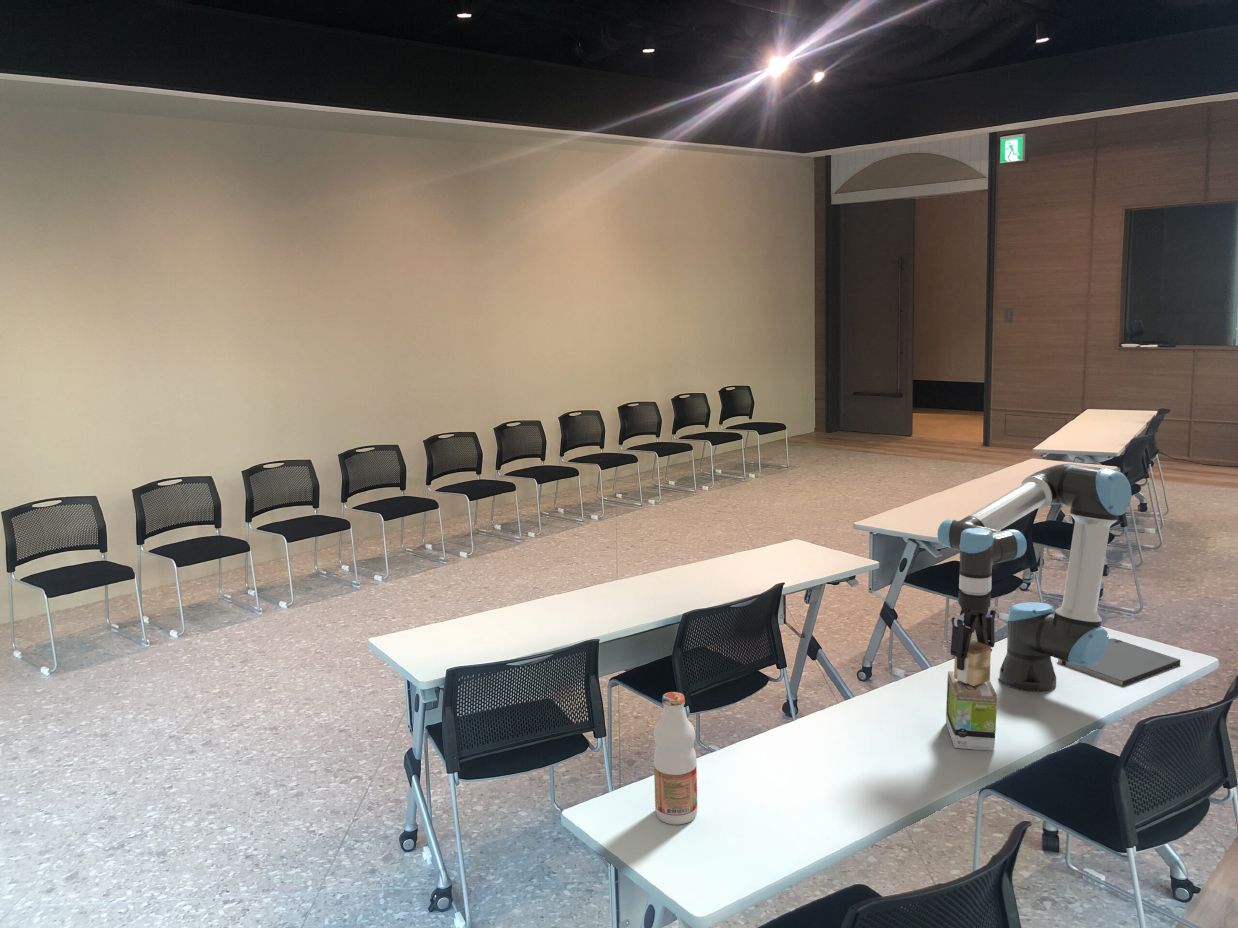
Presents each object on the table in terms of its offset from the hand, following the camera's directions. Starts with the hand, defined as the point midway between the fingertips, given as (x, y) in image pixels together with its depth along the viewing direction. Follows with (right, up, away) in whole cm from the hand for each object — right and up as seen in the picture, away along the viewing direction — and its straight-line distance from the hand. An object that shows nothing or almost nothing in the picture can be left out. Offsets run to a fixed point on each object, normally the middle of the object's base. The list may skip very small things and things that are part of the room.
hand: (971, 677), depth 233 cm
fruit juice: (-77, -24, -28) cm, 85 cm away
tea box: (+1, -16, +3) cm, 16 cm away
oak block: (0, 0, 0) cm, 0 cm away
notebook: (+61, -7, +45) cm, 76 cm away
